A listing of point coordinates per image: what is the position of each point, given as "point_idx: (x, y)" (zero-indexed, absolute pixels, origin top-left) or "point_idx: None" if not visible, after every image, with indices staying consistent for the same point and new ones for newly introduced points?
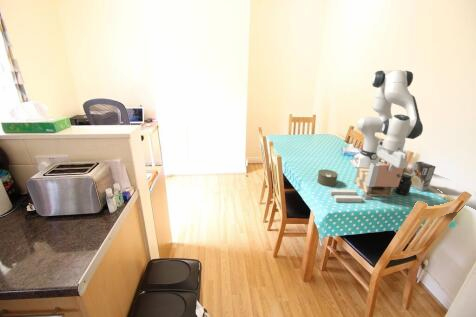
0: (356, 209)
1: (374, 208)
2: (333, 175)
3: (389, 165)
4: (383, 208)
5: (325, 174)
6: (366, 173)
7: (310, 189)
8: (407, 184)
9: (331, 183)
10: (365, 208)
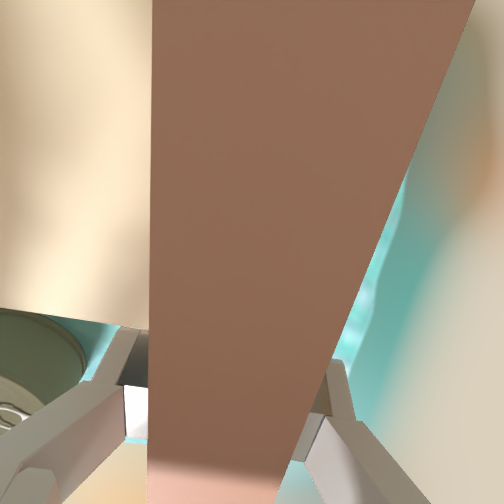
0: (347, 368)
1: (370, 282)
2: (10, 393)
3: (272, 496)
4: (391, 230)
5: (5, 424)
6: (57, 315)
7: (130, 441)
8: None
9: (75, 373)
10: (353, 326)
